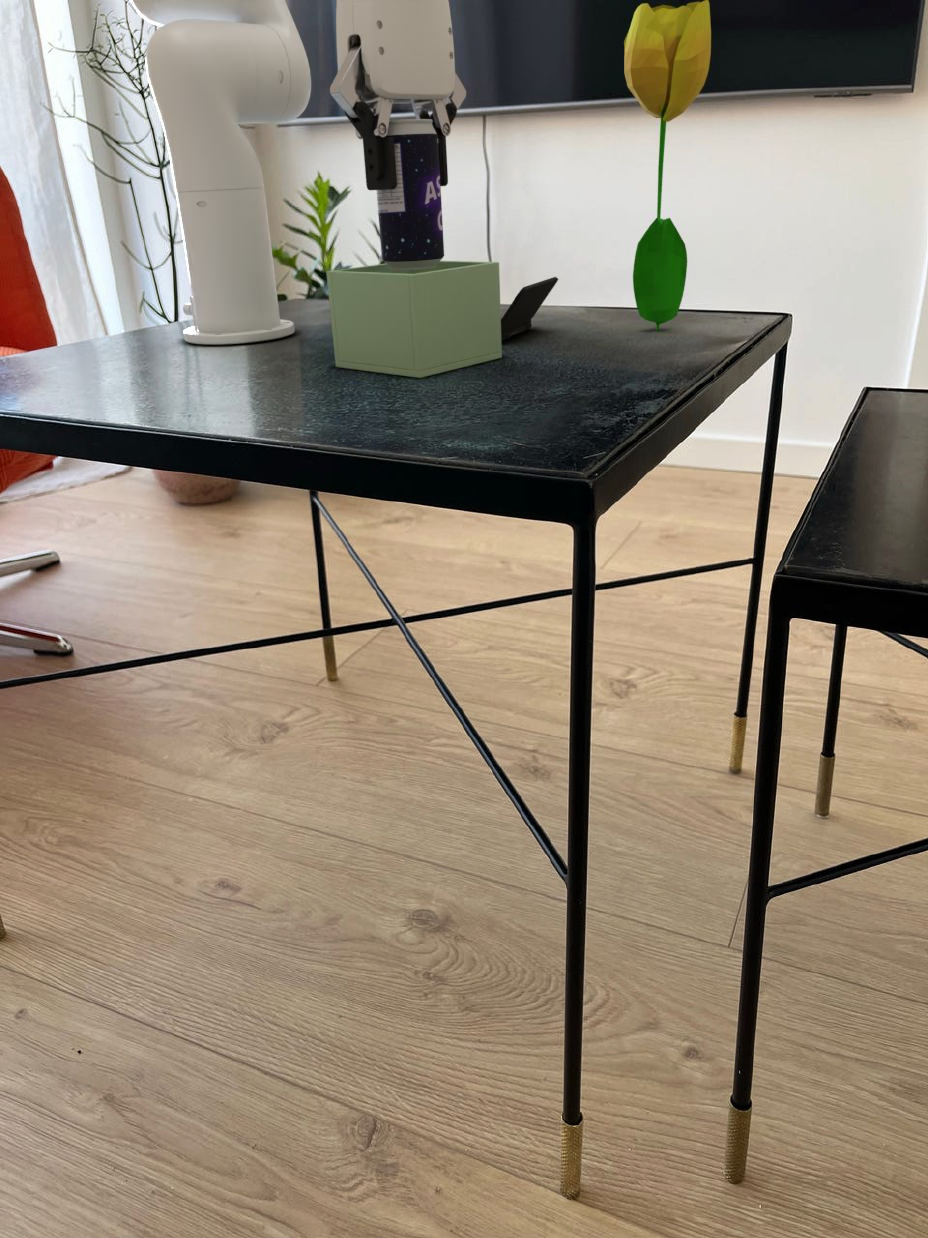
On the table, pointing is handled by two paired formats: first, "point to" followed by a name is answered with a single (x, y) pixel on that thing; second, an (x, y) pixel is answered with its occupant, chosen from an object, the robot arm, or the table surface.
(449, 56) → the robot arm
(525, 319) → the black tablet stand
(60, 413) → the table surface
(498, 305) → the pale green square box
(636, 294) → the flower
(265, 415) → the table surface
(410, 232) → the beverage can
